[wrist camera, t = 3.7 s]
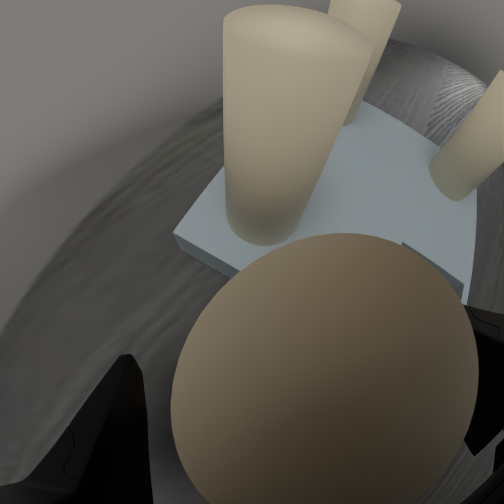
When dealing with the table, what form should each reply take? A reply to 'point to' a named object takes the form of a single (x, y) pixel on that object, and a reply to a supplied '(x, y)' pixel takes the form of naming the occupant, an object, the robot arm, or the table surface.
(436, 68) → the table surface
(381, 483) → the loose leg
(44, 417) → the table surface
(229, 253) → the stool seat
